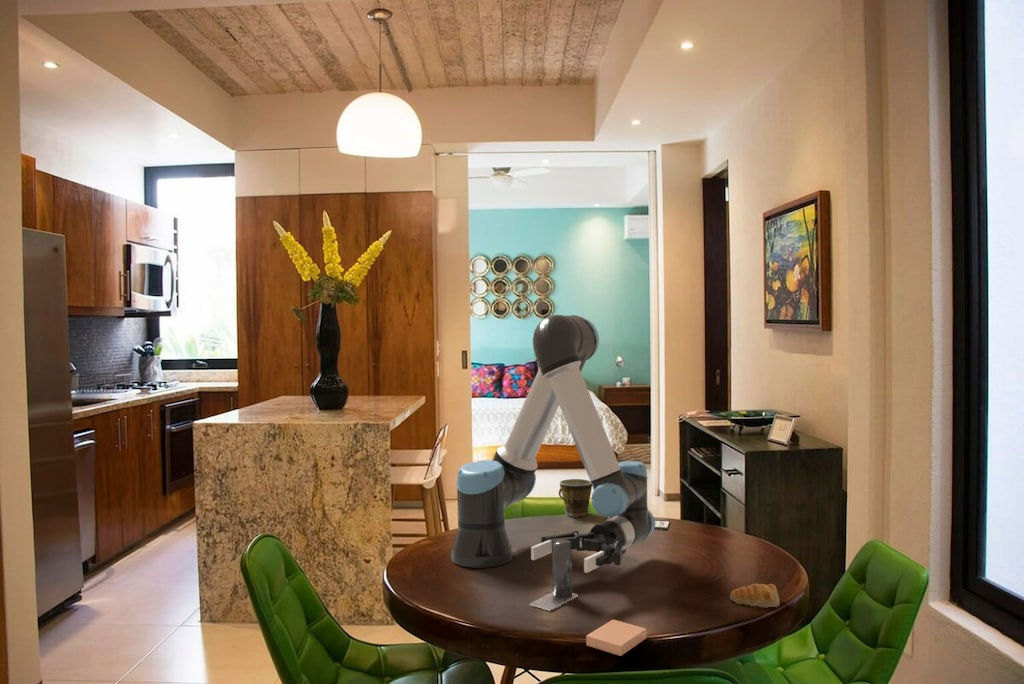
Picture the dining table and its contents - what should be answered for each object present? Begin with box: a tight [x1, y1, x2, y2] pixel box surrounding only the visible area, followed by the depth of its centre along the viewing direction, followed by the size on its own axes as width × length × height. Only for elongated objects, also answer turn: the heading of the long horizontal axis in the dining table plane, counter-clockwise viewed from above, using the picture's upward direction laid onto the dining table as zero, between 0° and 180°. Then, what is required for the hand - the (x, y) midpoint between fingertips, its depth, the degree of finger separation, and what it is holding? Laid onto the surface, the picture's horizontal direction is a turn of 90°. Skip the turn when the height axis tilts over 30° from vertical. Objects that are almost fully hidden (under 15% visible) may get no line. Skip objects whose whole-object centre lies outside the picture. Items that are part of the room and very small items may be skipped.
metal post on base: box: [529, 540, 579, 612], centre depth 145 cm, size 5×10×12 cm, turn 141°
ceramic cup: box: [558, 478, 593, 518], centre depth 214 cm, size 13×10×10 cm
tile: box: [585, 619, 648, 657], centre depth 125 cm, size 7×2×9 cm
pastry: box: [729, 583, 781, 608], centre depth 142 cm, size 9×7×4 cm
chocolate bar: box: [606, 517, 670, 531], centre depth 203 cm, size 9×1×18 cm
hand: (558, 559), depth 146 cm, fingers open, 13 cm apart
